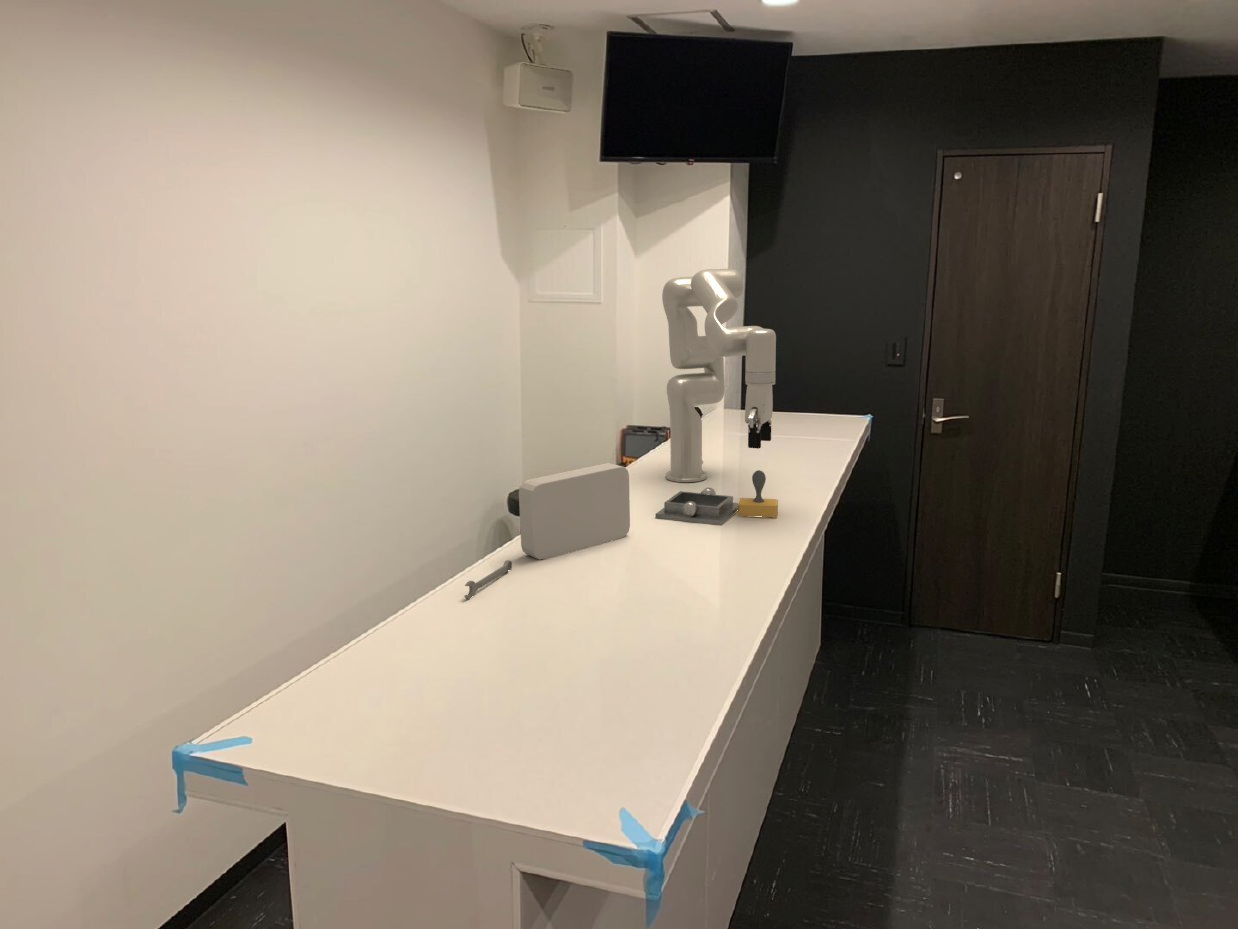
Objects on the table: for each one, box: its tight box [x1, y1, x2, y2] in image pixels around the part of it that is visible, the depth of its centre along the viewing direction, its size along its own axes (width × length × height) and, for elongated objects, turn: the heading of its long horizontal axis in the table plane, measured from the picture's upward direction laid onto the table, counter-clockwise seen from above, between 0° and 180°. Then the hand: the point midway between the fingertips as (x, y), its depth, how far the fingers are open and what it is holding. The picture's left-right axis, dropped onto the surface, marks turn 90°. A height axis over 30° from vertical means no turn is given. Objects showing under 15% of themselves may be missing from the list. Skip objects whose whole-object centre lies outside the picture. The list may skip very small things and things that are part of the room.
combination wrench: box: [463, 559, 513, 600], centre depth 200 cm, size 4×1×20 cm
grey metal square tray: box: [655, 487, 739, 526], centre depth 248 cm, size 17×18×5 cm
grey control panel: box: [518, 462, 631, 560], centre depth 223 cm, size 29×8×18 cm, turn 129°
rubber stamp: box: [737, 470, 779, 518], centre depth 245 cm, size 10×6×12 cm, turn 78°
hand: (759, 444), depth 242 cm, fingers open, 9 cm apart
